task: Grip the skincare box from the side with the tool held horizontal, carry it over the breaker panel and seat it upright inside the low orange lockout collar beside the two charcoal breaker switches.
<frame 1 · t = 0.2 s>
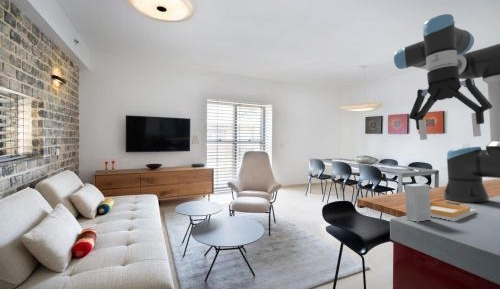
hand: (448, 138, 75), 27 cm above the table, tool pointing down, fingers open, 13 cm apart
breaker panel: (443, 212, 90), on the table
skincare box: (418, 220, 83), on the table
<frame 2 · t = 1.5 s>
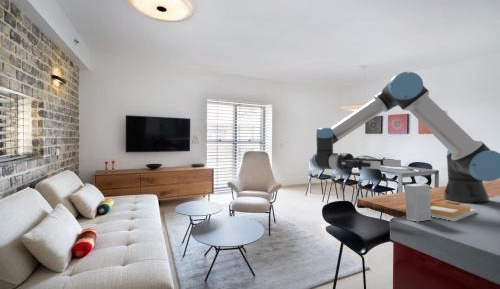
hand: (390, 164, 91), 18 cm above the table, tool horizontal, fingers open, 13 cm apart
nothing on the table moved.
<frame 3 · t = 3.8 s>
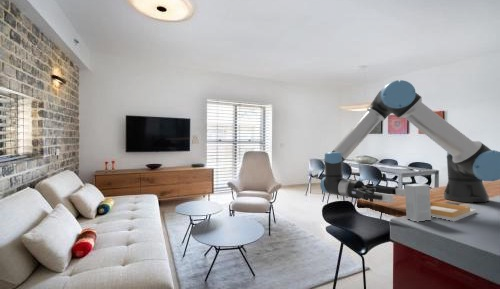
hand: (403, 196, 86), 7 cm above the table, tool horizontal, fingers open, 13 cm apart
nothing on the table moved.
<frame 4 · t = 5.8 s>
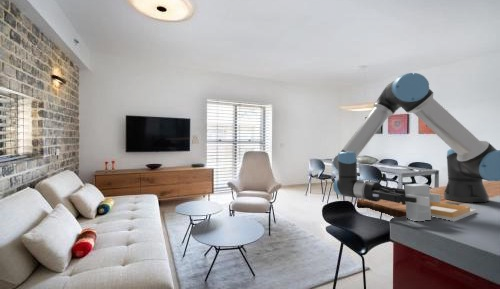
hand: (434, 200, 79), 8 cm above the table, tool horizontal, fingers closed on skincare box, 7 cm apart
skincare box: (418, 220, 83), on the table, touching gripper
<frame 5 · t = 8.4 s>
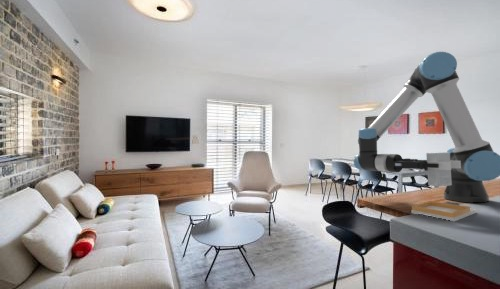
hand: (455, 165, 85), 18 cm above the table, tool horizontal, fingers closed on skincare box, 7 cm apart
skincare box: (439, 186, 89), point 10 cm above the table, touching gripper
when the fingers open (10 cm above the table, at t = 11.1 s): skincare box moves 1 cm, resting on breaker panel.
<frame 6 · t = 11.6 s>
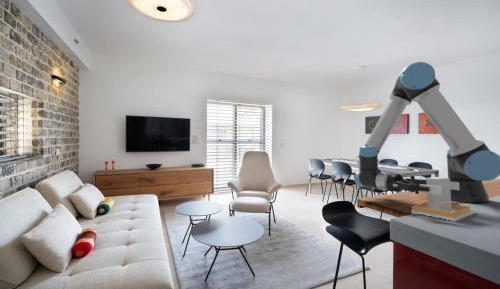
hand: (450, 188, 87), 10 cm above the table, tool horizontal, fingers open, 13 cm apart
skincare box: (439, 211, 89), point 1 cm above the table, touching breaker panel
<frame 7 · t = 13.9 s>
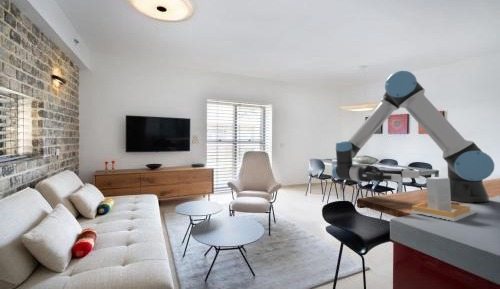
hand: (410, 176, 98), 13 cm above the table, tool horizontal, fingers open, 13 cm apart
nothing on the table moved.
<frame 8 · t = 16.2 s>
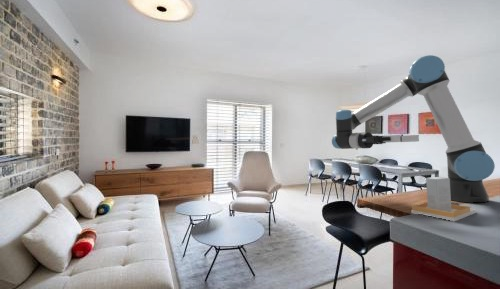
hand: (409, 138, 98), 28 cm above the table, tool horizontal, fingers open, 13 cm apart
nothing on the table moved.
at the end: skincare box 0.6 cm from the target spot on the breaker panel, point 1.0 cm above the breaker panel's base; skincare box tilted 0°; the gripper is holding nothing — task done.
